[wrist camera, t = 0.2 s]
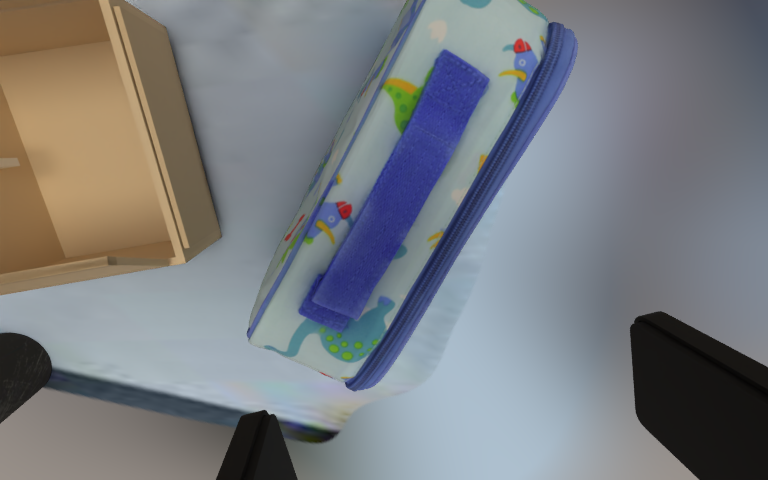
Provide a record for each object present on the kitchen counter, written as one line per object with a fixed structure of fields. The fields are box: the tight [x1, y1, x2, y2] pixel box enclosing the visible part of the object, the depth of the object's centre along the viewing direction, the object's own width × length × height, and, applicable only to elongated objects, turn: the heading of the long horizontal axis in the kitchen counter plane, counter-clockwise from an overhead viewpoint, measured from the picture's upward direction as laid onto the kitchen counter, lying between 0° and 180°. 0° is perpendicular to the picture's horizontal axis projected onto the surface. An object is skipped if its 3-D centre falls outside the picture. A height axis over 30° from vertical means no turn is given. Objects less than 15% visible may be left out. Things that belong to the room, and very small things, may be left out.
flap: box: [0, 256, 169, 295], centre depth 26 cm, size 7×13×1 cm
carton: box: [0, 0, 222, 274], centre depth 32 cm, size 19×18×9 cm
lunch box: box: [247, 0, 578, 391], centre depth 29 cm, size 26×11×21 cm, turn 152°
